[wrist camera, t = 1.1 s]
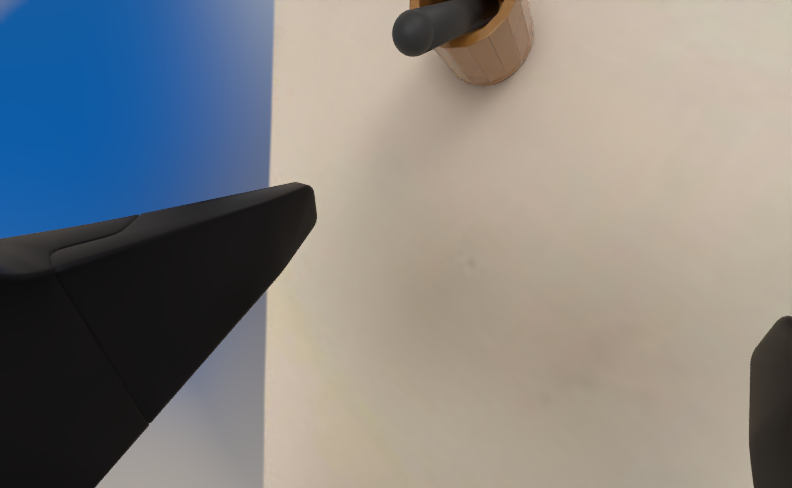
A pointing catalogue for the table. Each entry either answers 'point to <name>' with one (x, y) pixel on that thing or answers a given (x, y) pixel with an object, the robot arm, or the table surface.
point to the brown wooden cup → (489, 44)
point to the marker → (440, 24)
